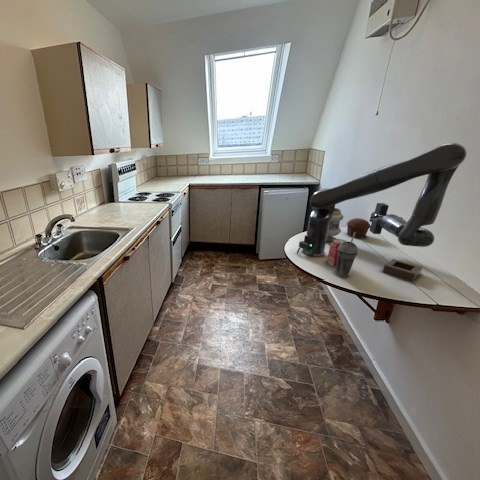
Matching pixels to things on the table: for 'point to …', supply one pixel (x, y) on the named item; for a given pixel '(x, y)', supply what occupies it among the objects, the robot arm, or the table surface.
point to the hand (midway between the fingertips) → (376, 214)
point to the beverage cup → (346, 257)
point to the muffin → (357, 227)
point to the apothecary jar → (334, 225)
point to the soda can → (334, 252)
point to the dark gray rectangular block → (376, 226)
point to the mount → (402, 269)
